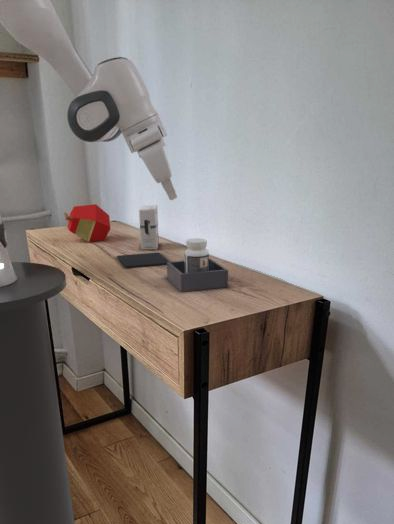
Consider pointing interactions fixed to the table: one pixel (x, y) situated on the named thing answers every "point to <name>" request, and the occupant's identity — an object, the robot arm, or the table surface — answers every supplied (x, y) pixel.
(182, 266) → the open box
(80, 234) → the apple
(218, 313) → the table surface
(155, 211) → the ink box
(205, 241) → the pill bottle
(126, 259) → the mat
